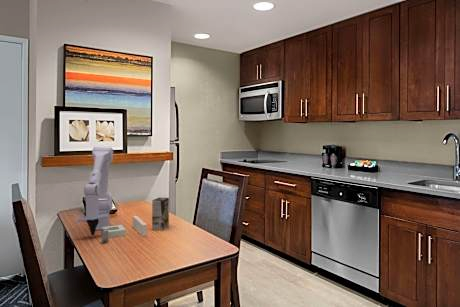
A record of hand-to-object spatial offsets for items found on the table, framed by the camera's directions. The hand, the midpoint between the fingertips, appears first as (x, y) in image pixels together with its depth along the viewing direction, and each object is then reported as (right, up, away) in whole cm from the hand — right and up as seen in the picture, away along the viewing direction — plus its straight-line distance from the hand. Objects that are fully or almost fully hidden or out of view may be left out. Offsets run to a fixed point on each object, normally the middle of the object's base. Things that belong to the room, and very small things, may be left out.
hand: (92, 234), depth 163 cm
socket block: (+9, -1, +5) cm, 10 cm away
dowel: (+9, -2, -7) cm, 12 cm away
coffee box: (+30, -1, +18) cm, 35 cm away
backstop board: (+20, -1, +11) cm, 23 cm away
